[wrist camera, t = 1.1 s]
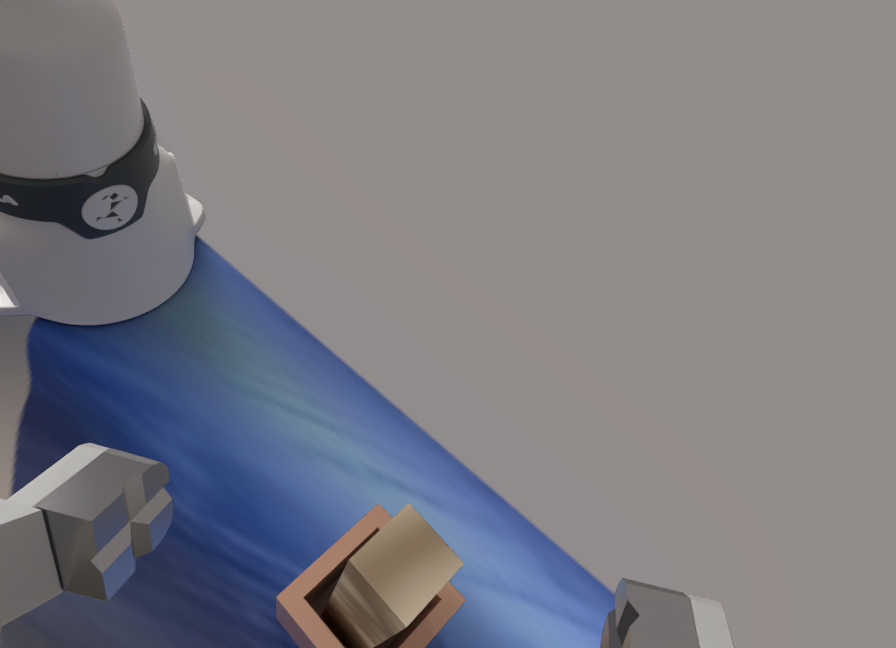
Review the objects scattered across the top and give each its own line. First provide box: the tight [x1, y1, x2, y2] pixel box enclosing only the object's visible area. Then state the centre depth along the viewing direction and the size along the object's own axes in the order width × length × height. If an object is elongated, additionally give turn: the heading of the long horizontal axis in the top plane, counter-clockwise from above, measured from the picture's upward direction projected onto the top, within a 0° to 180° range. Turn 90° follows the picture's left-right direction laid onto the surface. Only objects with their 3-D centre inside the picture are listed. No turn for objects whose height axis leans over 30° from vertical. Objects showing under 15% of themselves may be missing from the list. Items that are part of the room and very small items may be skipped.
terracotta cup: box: [276, 503, 465, 648], centre depth 35 cm, size 7×7×9 cm
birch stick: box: [321, 503, 464, 648], centre depth 31 cm, size 3×3×18 cm
